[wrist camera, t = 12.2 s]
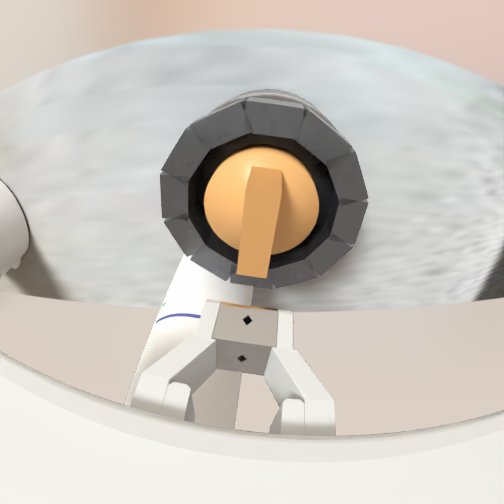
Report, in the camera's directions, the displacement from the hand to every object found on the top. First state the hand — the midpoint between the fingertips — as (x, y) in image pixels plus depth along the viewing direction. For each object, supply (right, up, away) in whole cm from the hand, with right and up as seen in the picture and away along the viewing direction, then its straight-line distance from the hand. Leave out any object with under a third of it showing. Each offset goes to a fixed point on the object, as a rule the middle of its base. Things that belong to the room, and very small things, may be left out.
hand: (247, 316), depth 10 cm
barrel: (+2, +11, +14) cm, 18 cm away
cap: (+1, +6, +8) cm, 10 cm away
